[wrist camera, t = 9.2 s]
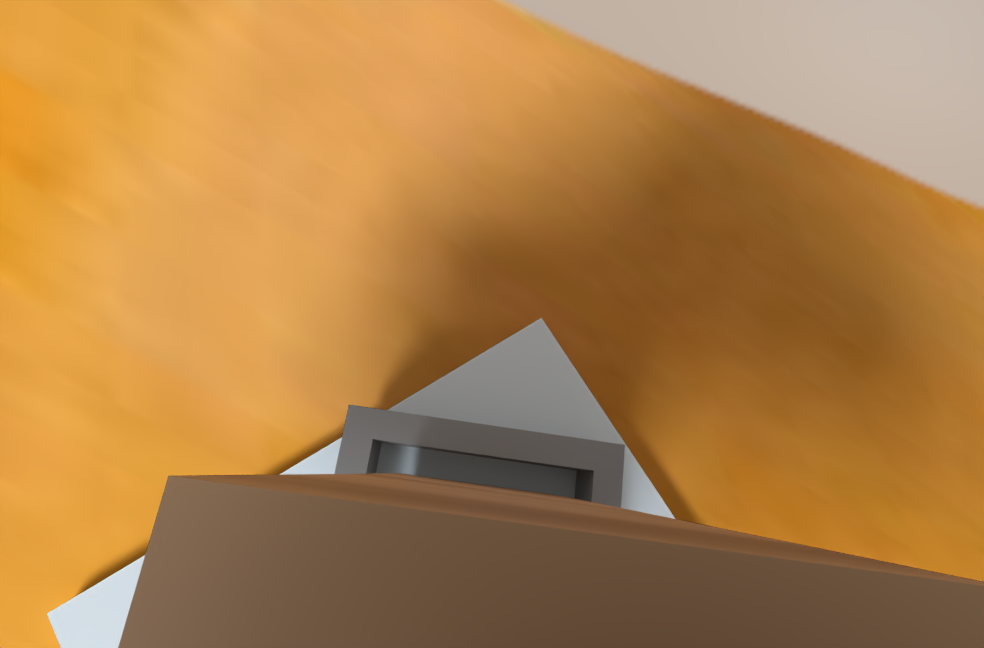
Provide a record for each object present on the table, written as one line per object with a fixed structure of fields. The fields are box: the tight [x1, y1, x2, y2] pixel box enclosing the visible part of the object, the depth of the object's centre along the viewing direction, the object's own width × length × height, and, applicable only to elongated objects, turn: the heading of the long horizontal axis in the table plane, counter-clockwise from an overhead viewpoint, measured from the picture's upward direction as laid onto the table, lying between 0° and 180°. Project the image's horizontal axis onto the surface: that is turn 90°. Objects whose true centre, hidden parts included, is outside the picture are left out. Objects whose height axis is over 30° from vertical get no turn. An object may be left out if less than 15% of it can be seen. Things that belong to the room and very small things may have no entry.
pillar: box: [118, 473, 984, 648], centre depth 8 cm, size 4×4×13 cm
